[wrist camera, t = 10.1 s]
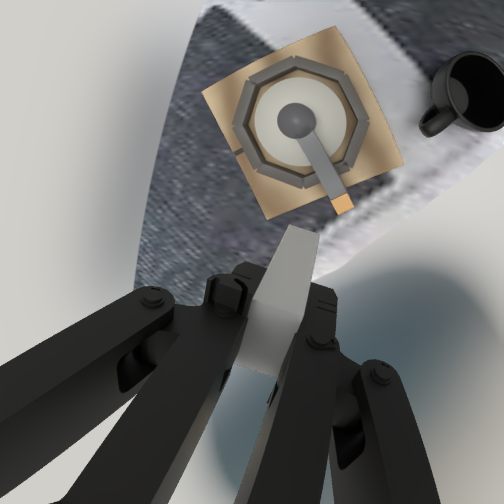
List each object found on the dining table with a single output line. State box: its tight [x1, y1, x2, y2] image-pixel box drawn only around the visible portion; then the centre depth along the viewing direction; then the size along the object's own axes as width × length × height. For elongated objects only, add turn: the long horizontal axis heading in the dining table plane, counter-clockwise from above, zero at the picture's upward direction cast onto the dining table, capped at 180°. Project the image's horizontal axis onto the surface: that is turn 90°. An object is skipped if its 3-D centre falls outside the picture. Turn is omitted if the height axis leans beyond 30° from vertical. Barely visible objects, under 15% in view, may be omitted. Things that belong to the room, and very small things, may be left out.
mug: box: [419, 51, 504, 138], centre depth 26 cm, size 8×12×10 cm
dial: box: [255, 77, 354, 215], centre depth 31 cm, size 15×10×6 cm, turn 32°
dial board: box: [202, 26, 404, 220], centre depth 33 cm, size 18×18×4 cm
